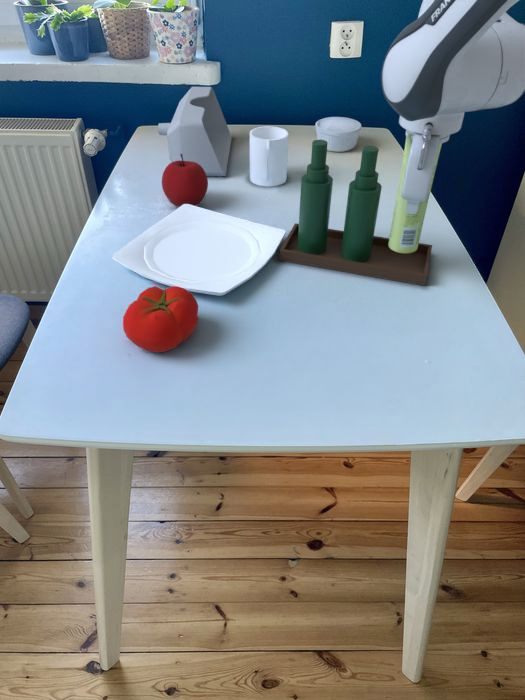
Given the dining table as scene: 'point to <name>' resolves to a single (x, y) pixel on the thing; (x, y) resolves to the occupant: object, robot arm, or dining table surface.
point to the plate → (201, 250)
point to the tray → (378, 265)
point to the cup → (268, 156)
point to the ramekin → (338, 133)
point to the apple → (184, 183)
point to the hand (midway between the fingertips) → (413, 202)
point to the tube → (406, 224)
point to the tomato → (161, 318)
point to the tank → (199, 132)
